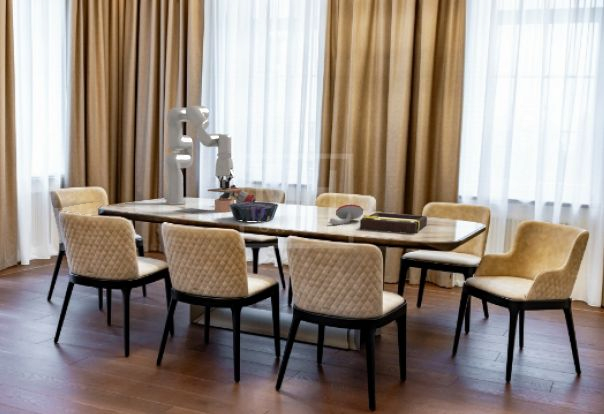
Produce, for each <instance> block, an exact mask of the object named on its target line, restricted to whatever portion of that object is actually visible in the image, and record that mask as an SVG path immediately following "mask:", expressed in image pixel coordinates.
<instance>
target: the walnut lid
mask: <svg viewBox="0 0 604 414" xmlns="http://www.w3.org/2000/svg"><path fill="white" fill-rule="evenodd" d="M225 182H226V179H224V180H222V188H220V187H219V188H210V189H209V188H208V189H207V192H215V193H223V194H224V193H228V192H236V191H243V189H242V188H238V189H232V188H225Z"/></svg>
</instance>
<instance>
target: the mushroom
mask: <svg viewBox="0 0 604 414" xmlns="http://www.w3.org/2000/svg"><path fill="white" fill-rule="evenodd" d="M335 215H336V217H331V218H330V219H329V222H330V223H331V224H332V225H333V226H334V225H336V226H339V224H341V225H345V224H349V223H350V222H351V221H352V220H355V219H358V218H359V219H360V217H361V216H363V215H364V209H363V208H362V207H361V206H360V205H357V204H352V203H350V204H343V205H342V206H339V207H338V208H337V209H336V211H335Z"/></svg>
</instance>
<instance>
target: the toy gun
mask: <svg viewBox="0 0 604 414" xmlns="http://www.w3.org/2000/svg"><path fill="white" fill-rule="evenodd" d="M230 188H232V189H239V187H236V185H235V184H232V185H231V184H230ZM236 194H237V195H236ZM230 197H232V198H234V199H236V200H235V203H242V202H256V200H257V199H256V196H255V195H254V194H249V193H248V192H246V191H244V190H242V191H236V192H228V193H224V192H223V194H222V193H221V195H220V196H219V198H218V199H230Z"/></svg>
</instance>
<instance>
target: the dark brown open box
mask: <svg viewBox="0 0 604 414" xmlns="http://www.w3.org/2000/svg"><path fill="white" fill-rule="evenodd" d="M427 222H428V216H427V215H419V214H418V215H417V214H406V213H405V214H403V213H393V212H391V213H390V212H379V211H377V212H374V213H372V214H370V215H367V214H363V217H362V218H361V219H360V224H359V229H360V230H364V229H367V230H368V231H376V230H377V232H387V231H391V232H392V233H399V232H406V233H405V234H411V233H416V234H418V231H419V232H420V231H421V230H422V229H424V228H425V227H427V225H428V224H427ZM367 230H366V231H367ZM391 232H390V233H391Z"/></svg>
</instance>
